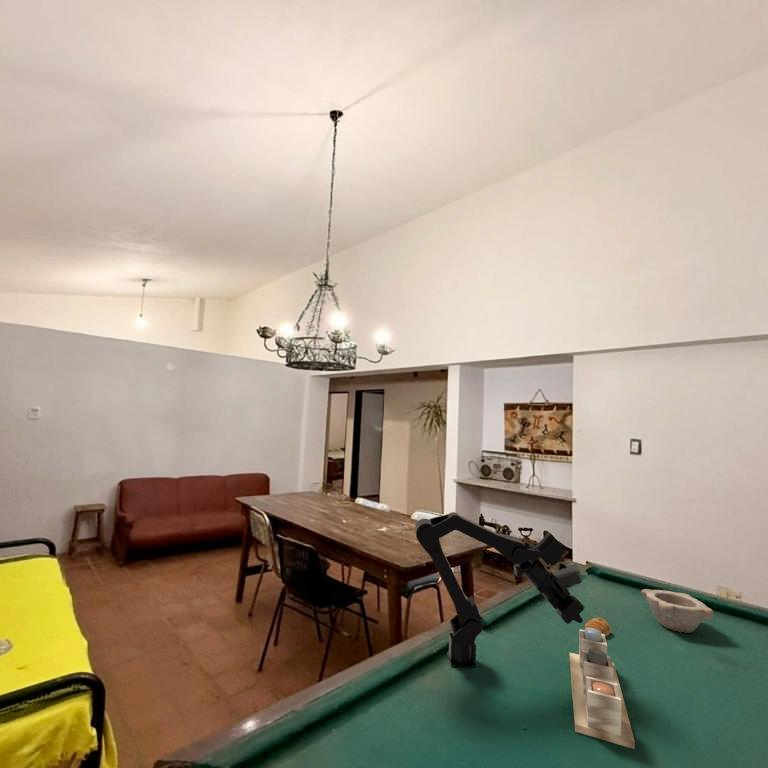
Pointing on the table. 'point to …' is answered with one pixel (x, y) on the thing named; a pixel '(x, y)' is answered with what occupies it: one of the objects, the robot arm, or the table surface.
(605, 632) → the pastry
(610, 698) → the button console
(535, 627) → the table surface
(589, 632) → the pale blue rounded knob
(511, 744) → the table surface
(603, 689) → the terracotta button
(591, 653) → the grey rounded piece
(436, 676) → the table surface
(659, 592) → the mortar
